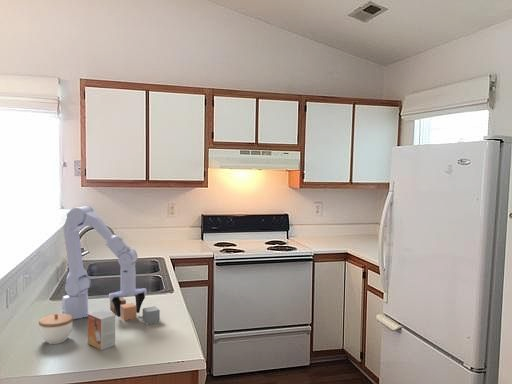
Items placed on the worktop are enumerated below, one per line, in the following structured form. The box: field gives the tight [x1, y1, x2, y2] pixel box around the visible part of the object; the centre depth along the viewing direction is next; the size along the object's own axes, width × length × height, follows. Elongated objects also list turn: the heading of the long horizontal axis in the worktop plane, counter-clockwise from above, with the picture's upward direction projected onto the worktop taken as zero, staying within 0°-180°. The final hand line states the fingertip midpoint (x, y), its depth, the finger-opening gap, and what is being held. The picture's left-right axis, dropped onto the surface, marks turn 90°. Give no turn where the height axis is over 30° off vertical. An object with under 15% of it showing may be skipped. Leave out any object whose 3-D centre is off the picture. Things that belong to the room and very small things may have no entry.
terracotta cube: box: [120, 302, 138, 321], centre depth 173 cm, size 5×5×5 cm
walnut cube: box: [109, 297, 127, 314], centre depth 181 cm, size 5×5×5 cm
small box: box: [87, 309, 116, 351], centre depth 147 cm, size 8×6×10 cm
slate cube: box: [142, 306, 161, 325], centre depth 169 cm, size 5×5×5 cm
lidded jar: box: [38, 313, 74, 345], centre depth 150 cm, size 11×11×9 cm
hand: (128, 314), depth 173 cm, fingers open, 7 cm apart
